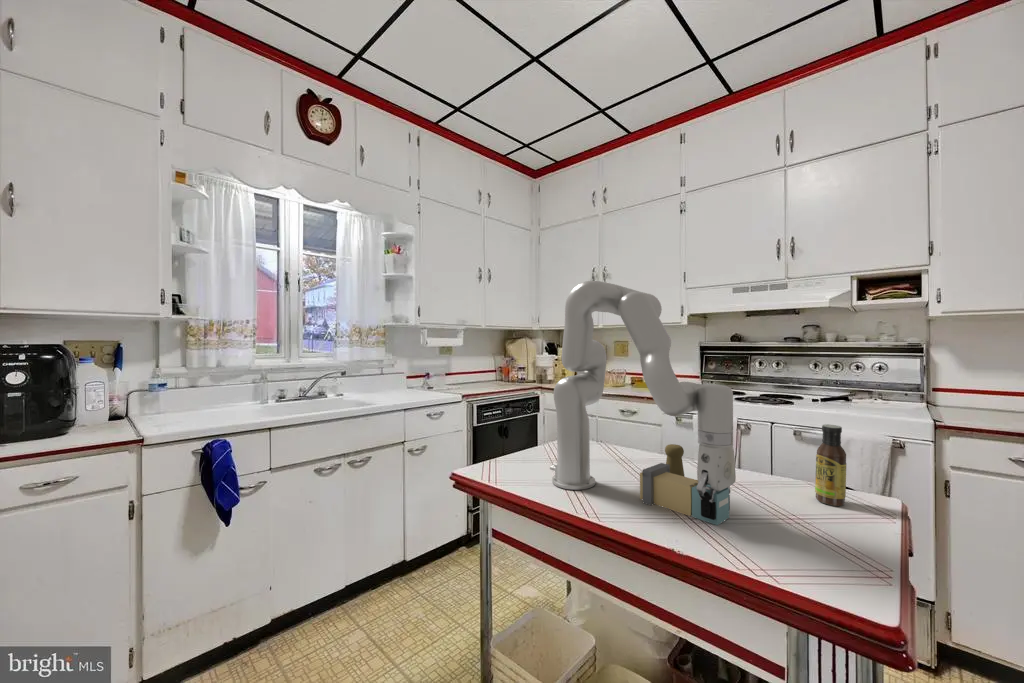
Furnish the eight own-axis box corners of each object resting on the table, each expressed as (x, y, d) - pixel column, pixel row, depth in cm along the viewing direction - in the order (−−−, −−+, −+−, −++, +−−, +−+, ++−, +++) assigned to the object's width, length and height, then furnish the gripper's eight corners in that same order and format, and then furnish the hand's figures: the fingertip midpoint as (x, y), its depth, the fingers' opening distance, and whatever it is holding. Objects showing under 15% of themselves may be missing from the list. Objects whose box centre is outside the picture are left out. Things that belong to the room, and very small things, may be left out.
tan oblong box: (636, 500, 111) (636, 468, 110) (655, 492, 116) (655, 461, 116) (687, 518, 100) (687, 481, 100) (705, 508, 105) (705, 473, 105)
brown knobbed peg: (681, 478, 127) (681, 442, 127) (688, 485, 121) (688, 447, 121) (661, 478, 128) (661, 442, 127) (666, 485, 122) (666, 447, 121)
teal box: (691, 516, 100) (691, 487, 100) (704, 509, 104) (704, 481, 104) (718, 525, 96) (717, 494, 96) (729, 518, 99) (729, 488, 99)
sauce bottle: (809, 498, 111) (809, 423, 110) (829, 497, 112) (829, 422, 112) (831, 508, 104) (831, 428, 104) (853, 506, 105) (852, 427, 105)
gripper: (713, 447, 90) (714, 530, 91) (747, 434, 101) (747, 508, 102) (681, 440, 96) (681, 518, 96) (716, 429, 107) (716, 499, 107)
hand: (715, 512), depth 99 cm, fingers open, 6 cm apart
